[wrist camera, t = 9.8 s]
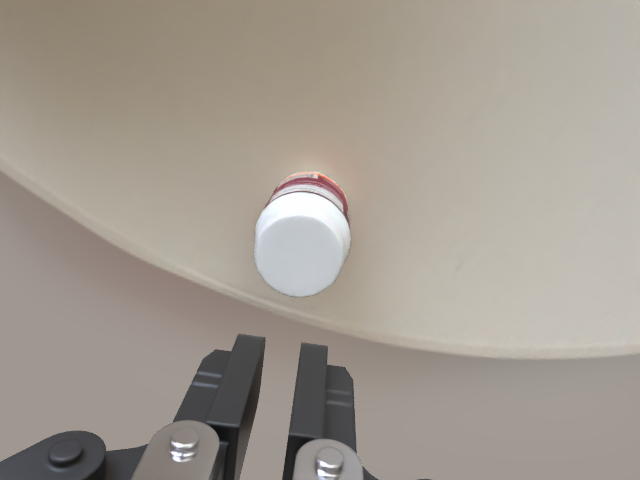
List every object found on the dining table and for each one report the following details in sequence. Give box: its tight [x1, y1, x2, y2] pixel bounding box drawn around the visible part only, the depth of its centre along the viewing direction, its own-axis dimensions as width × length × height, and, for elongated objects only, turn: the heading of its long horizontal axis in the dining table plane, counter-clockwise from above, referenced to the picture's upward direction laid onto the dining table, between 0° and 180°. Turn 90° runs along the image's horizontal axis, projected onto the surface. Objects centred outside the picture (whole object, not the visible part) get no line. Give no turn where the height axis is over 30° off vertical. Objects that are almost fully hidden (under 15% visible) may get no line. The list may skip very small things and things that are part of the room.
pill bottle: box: [254, 171, 351, 297], centre depth 25 cm, size 5×5×8 cm
